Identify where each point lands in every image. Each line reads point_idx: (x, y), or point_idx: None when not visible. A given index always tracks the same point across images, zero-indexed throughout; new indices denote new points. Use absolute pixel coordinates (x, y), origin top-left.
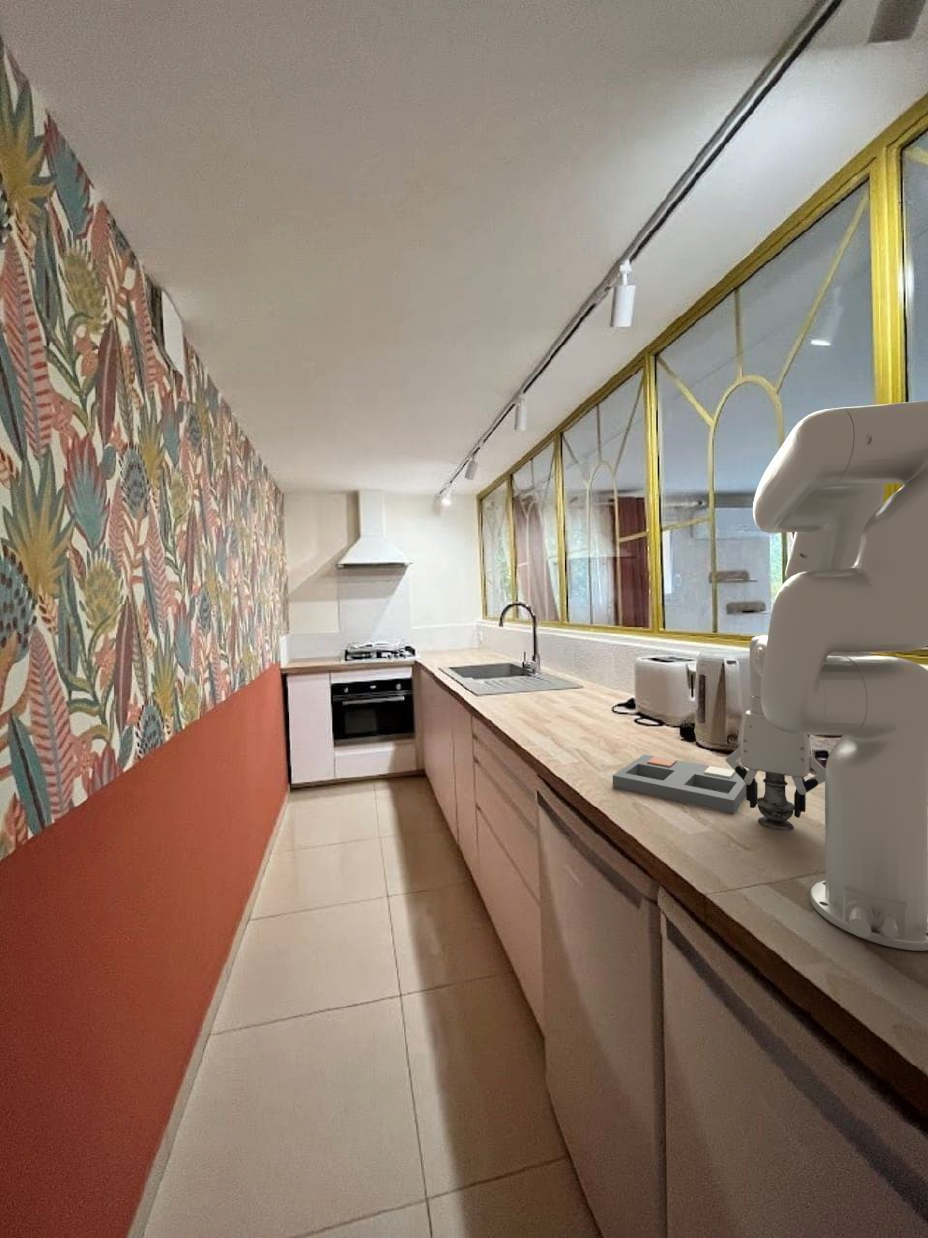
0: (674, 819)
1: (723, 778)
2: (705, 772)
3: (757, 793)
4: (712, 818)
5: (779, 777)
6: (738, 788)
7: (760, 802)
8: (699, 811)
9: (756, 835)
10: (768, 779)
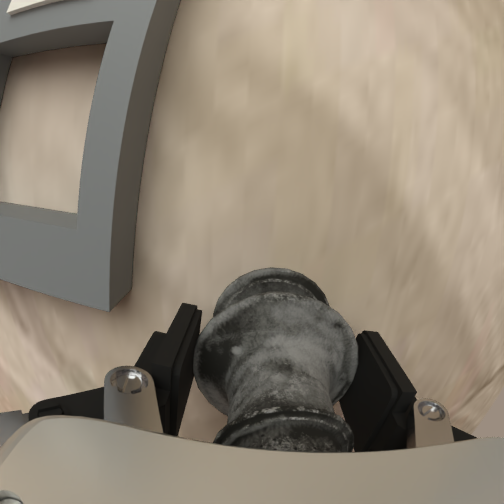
0: (30, 384)
1: (65, 13)
2: (10, 12)
3: (193, 332)
4: (87, 352)
5: None
6: (112, 117)
7: (213, 393)
8: (45, 310)
9: (214, 421)
10: None
